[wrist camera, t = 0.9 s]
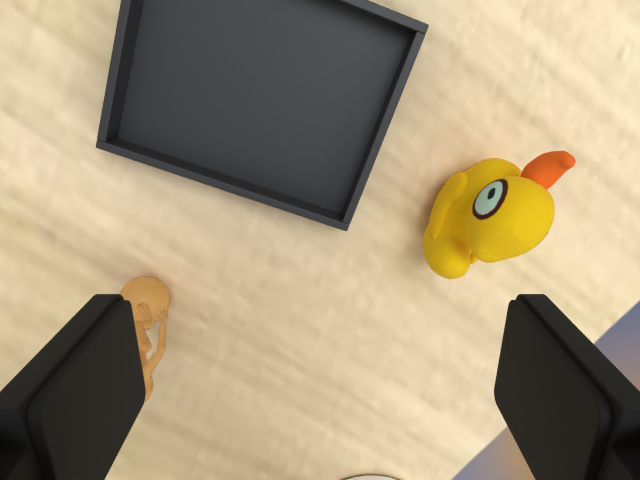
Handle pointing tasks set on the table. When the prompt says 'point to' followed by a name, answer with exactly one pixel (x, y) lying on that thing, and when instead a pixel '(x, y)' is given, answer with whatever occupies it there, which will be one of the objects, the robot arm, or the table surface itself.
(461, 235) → the duckling
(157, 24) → the pan
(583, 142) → the table surface
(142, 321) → the figurine
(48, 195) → the table surface
